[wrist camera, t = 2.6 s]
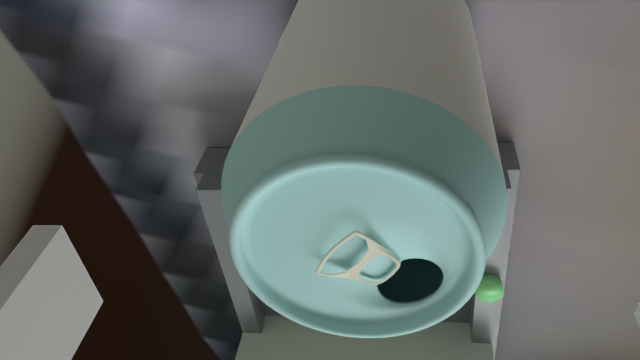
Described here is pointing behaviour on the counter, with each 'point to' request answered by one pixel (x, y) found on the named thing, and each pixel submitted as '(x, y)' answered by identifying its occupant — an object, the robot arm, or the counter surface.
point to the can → (367, 169)
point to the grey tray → (348, 352)
